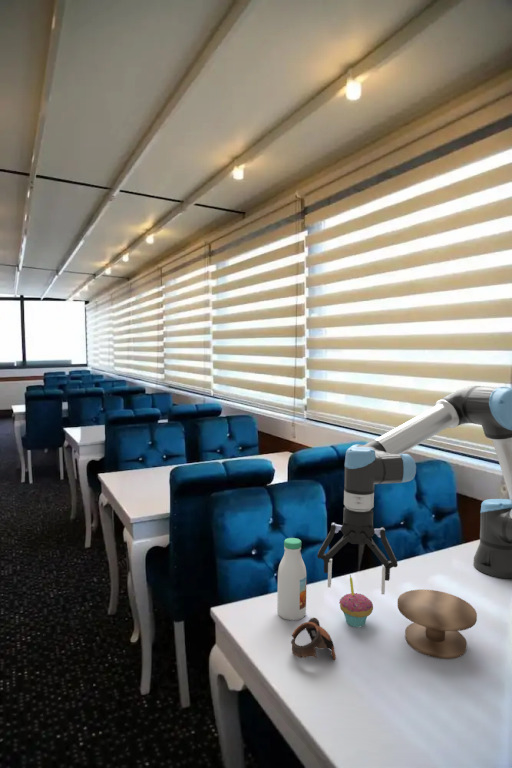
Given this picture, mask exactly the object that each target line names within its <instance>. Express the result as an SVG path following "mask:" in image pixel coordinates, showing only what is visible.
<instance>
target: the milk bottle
mask: <svg viewBox="0 0 512 768" xmlns="http://www.w3.org/2000/svg"><path fill="white" fill-rule="evenodd" d="M283 547H284V548H283V549H284V552H283V553H284V554H283V556H282V558H281V560H280V563H279V565H278V570H277V595H276V597H277V599H276V600H277V602H276V603H277V605H276V607H277V608H276V609H277V611H276V612H277V614H278V616H279V617H280V618H282V619H284V620H287V621H298V620H302V619H303V618H304V617H305V615H306V614H307V569H306V565H305V562H304V560H303V558H302V552H301V550H302V540H301V539H299V538H295V537H288V538H285V540H284V542H283Z"/></svg>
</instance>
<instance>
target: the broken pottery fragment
mask: <svg viewBox="0 0 512 768" xmlns="http://www.w3.org/2000/svg"><path fill="white" fill-rule="evenodd" d="M304 630H306V632H307V633H308V636H309V639H310V640H311V641H310V642H309V643H307V644H304V645H299V644H297V643H296V639H297V637H298V635H300V634H301V633H302V632H303V631H304ZM291 636H292V639H291V641H290V643H291V653H292V654H293V655H294V656H295V657H297V658H300V659H302V658H308V657H313V658H314V659H316V658H317V656H316V649H324V650H325V649H329V650H331V652H330V655H331V656H332V660H333V661H335V660H336V659H337V658H336V657H337V655H336V651H335V646H334V642H333V640H332V638H331V635H330V634H329V632H328V631H327V630H326V629H325V628H323V627H322V626H321V624H320V622H319V620H318V618H316V617H311V618H310V619H309V620H308V621H307V622H303V623H301V624H300V625H298V626H297V627H296V628H295V629H294V630H293V632H292V633H291Z"/></svg>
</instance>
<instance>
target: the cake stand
mask: <svg viewBox="0 0 512 768" xmlns="http://www.w3.org/2000/svg"><path fill="white" fill-rule="evenodd" d="M397 609H398V611H399V612H400V614H401V615H402V616H403V617H404V618H406V619H407V620H409V621H411V622H412V623H409V625H407V626H406V628H405V631H404V637H405V640H406V643H407V644H408V645H409V646H410V647H411V648H412V649H413V650H415V651H417V652H418V653H421V654H422V655H425V656H427V657H432V658H435V659H441V660H453V659H458V658H460V657H462V656H463V655H464V654H466V652H467V648H468V647H467V639H466V638H465V636H464V635H463V634H462V633H461V631H465V630H469V629H471V628H472V627H474V626H475V625H476V623H477V621H478V620H477V619H478V613H477V610H476V609H475V608H474V607H473V606H472V605H471V604H470V603H469V602H467V601H466V599H465V600H464V599H462V598H461V597H459V596H457V595H453V594H452V593H447V592H443V591H441V590H440V591H439V590H434V589H424V588H423V589H412V590H409V591H405V592H403V593H401V594H400V595H399V596H398V597H397Z"/></svg>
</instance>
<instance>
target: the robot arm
mask: <svg viewBox="0 0 512 768" xmlns="http://www.w3.org/2000/svg"><path fill="white" fill-rule="evenodd" d="M465 424H473V425H479V426H481V427H482V430H483V433H484V437H485V438H486V439H487V440H490V441H492V443H493V447H494V450H495V454H496V457H497V460H498V463H499V466H500V471H501V472H502V473H501V474H502V476H503V480H504V483H505V485H506V489H507V492H508V493H507V494H508V496H509V499H508V498H490V499H485V500H483V501H482V502H481V504H480V506H481V507H480V512H479V514H480V517H479V523H480V524H479V525H480V526H479V544H478V547H477V548H476V551H475V554H474V556H473V564H472V565H473V567H474V568H475V569H476V570H477V571H479V572H481V573H483V574H485V575H487V576H491V577H495V578H499V579H501V578H502V579H509V580H511V579H512V387H507V386H499V387H497V386H484V385H483V386H481V385H472V386H466V387H464V388H461V389H458V390H456V391H453V392H452V393H450V394H448V395H445V396H443V397H442V398H440V399H438V400H437V401H435V402H434V406H433V407H431V408H428V409H427V410H425V411H424V412H422V413H420V414H418V415H416V416H414V417H413V418H411V419H409V420H407V421H406V422H404V423H402V424H400V425H398V426H397V427H395V428H393V429H391V430H389V431H387V432H385V433H383V434H382V435H380V436H378V437H377V438H375V439H373V440H371V441H369V442H367V443H365V444H363V443H362V444H361V443H360V444H359V443H357V444H353V445H351V446H350V447H349V448H347V449H346V451H345V459H344V486H343V487H344V489H343V505H344V507H343V517H342V518H343V522H342V524H337V523H336V522H331V525H330V530H329V533H328V534H327V535H326V538H325V540H324V541H323V542H322V545H321V546H320V548H319V550H318V552H317V556H316V557H317V558H318V559H319V560H320V559H321V560H323V573H324V574H327V588H331V586H332V572H333V571H332V570H333V569H332V568H333V557H334V556H335V555H336V554H337V553H338V552H339V551H340V550H342V548H343V547H344V546H345V545H347V544H348V543H350V544H351V545H360V546H364V545H367V547H368V548H369V549H370V550H371V551H372V552H373V553H374V555H375V556H376V557H377V559H378V560H379V561H380V563H381V584H380V588H381V589H380V591H381V592H380V593H381V595H385V591H386V589H385V588H386V582H387V581H388V582H389V581H390V579H391V569H392V568H397V567H398V561H397V557H396V556H395V554H394V551H393V549H392V546H391V545H390V543H389V540H388V538H387V535H386V529H385V527H384V526H381V527H380V528H374V509H373V508H374V505H375V504H374V503H375V502H374V501H375V499H374V497H375V485H382V484H402V483H407V482H411V481H412V480H414V478H415V477H416V474H417V464H416V461H415V459H414V458H413V456H412V455H410V454H409V453H406V452H408V451H409V450H411V449H413V448H415V447H416V446H419V445H420V444H422V443H424V442H425V441H427V440H430V439H431V438H433V437H434V436H436V435H438V434H439V433H441V432H443V431H445V430H446V429H448V428H449V429H455V428H457V427H459V426H462V425H465ZM339 531H341V533H342V534H343V536H342V537H341V538H340V539H339V540H338V541H337V542H336V543H335V544H334V545H333V546H332V547H331V548H330V549H329V550H328V551H327V552H326V550H327V549H328V547H329V546H330V544H331V542H332V540H333V538H334V537H335V534H337V533H339ZM374 535H376V536H377V537H378V538H380V541H381V543H382V546H383V547H384V550H385V552H386V554H387V556H388V558H389V560H388V558H387V557H386V555H385V554H384V553H383V552H382V550H381V549H380V548H379V547H378V545H377V544H376V543H375V541H374V540H373V538H372V537H374ZM325 552H326V553H325Z"/></svg>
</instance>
